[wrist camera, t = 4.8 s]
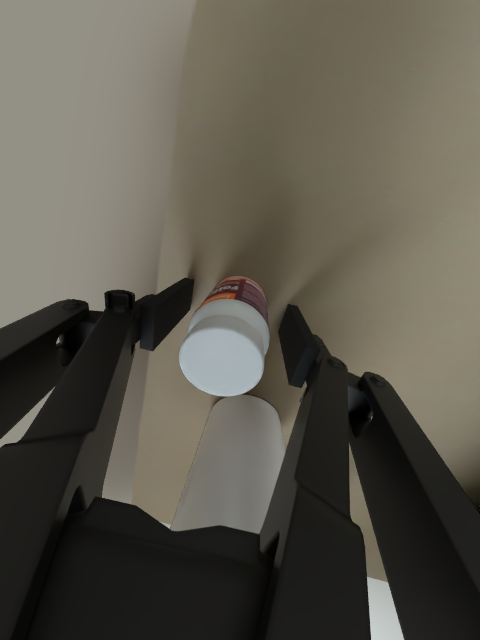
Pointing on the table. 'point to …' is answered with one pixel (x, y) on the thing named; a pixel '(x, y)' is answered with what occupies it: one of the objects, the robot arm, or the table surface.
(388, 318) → the table surface
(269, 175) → the table surface
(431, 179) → the table surface
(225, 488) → the candle holder
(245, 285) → the pill bottle
